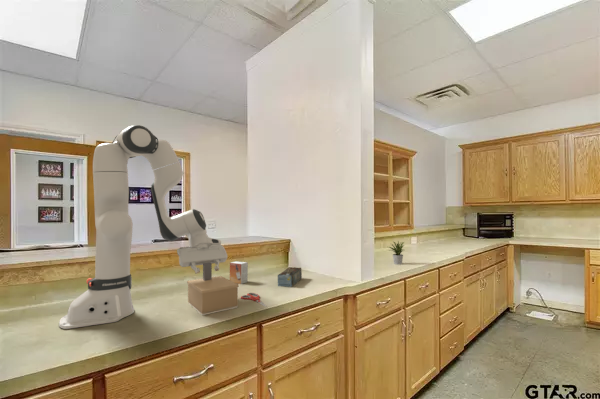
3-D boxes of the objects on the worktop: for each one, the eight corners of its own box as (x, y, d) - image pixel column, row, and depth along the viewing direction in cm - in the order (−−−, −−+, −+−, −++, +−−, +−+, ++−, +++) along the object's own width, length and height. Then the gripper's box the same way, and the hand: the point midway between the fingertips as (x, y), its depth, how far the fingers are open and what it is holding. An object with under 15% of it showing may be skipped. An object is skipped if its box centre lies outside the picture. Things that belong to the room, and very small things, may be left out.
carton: (202, 315, 109) (202, 293, 109) (188, 302, 123) (188, 283, 123) (237, 307, 117) (237, 287, 117) (220, 296, 131) (220, 278, 132)
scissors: (267, 310, 115) (267, 306, 115) (237, 298, 130) (237, 295, 130) (282, 305, 120) (282, 302, 120) (252, 295, 135) (252, 291, 135)
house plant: (395, 260, 217) (394, 238, 218) (412, 263, 207) (412, 240, 207) (383, 263, 208) (383, 240, 209) (401, 266, 198) (401, 241, 198)
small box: (229, 282, 156) (229, 262, 157) (236, 280, 161) (236, 260, 162) (241, 284, 153) (241, 263, 153) (247, 281, 158) (247, 262, 158)
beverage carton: (276, 286, 149) (276, 273, 149) (288, 277, 167) (288, 266, 167) (291, 287, 146) (291, 274, 147) (302, 278, 165) (302, 266, 165)
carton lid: (201, 293, 108) (201, 271, 109) (187, 283, 123) (187, 264, 124) (238, 286, 117) (238, 266, 117) (220, 278, 132) (220, 260, 132)
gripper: (177, 243, 125) (183, 270, 117) (223, 239, 137) (232, 264, 129) (174, 252, 128) (180, 279, 120) (220, 248, 141) (228, 272, 132)
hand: (207, 271), depth 125 cm, fingers open, 7 cm apart
